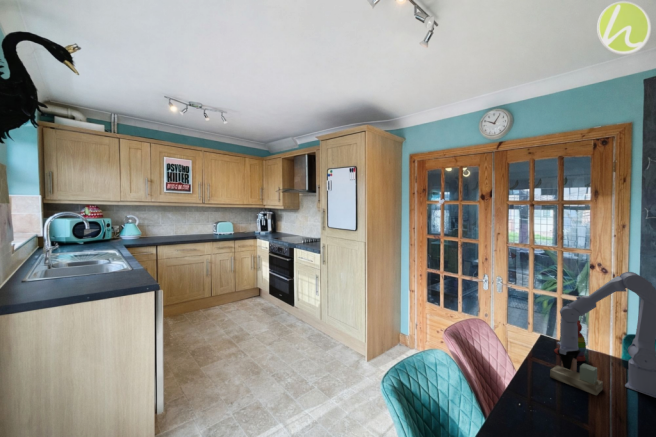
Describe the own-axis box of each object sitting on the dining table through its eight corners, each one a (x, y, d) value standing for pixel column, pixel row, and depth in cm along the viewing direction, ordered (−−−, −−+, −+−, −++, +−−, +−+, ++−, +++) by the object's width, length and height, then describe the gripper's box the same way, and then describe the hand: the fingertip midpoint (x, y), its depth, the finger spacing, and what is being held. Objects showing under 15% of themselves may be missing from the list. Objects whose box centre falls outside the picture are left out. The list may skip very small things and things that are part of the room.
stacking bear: (575, 352, 135) (575, 315, 135) (593, 362, 125) (593, 323, 125) (552, 350, 136) (552, 314, 136) (567, 361, 126) (567, 322, 126)
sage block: (597, 381, 105) (597, 367, 105) (593, 384, 103) (593, 370, 103) (583, 376, 108) (583, 363, 108) (579, 379, 106) (579, 366, 106)
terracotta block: (576, 371, 118) (576, 359, 118) (573, 373, 116) (573, 361, 116) (564, 366, 121) (564, 355, 121) (561, 369, 119) (561, 357, 119)
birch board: (602, 389, 105) (602, 381, 105) (596, 395, 101) (596, 387, 101) (557, 372, 117) (557, 364, 117) (550, 377, 113) (550, 369, 113)
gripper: (563, 328, 126) (563, 358, 126) (550, 335, 118) (550, 367, 118) (584, 334, 120) (584, 365, 120) (571, 341, 112) (571, 375, 112)
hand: (568, 366), depth 118 cm, fingers closed on terracotta block, 4 cm apart
